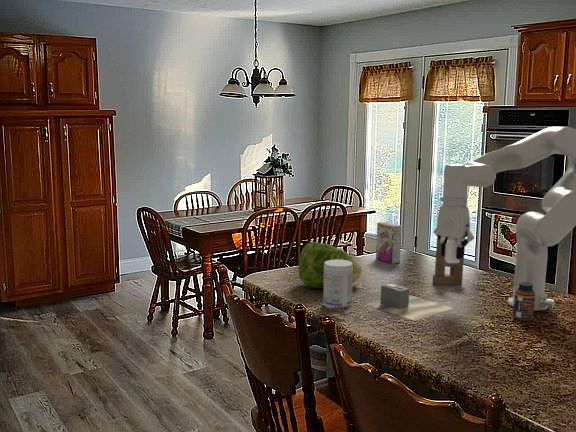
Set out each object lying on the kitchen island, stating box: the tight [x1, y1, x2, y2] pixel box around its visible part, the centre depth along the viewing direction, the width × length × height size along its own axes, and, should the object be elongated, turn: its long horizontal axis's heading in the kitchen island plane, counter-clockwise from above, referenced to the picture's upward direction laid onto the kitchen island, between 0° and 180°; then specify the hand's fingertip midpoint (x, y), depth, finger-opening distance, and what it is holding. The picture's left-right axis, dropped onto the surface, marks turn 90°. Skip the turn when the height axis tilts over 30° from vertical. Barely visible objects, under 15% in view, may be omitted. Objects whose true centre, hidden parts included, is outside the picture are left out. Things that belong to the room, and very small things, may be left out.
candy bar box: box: [375, 221, 403, 265], centre depth 254 cm, size 11×5×16 cm, turn 30°
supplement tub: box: [322, 259, 354, 309], centre depth 191 cm, size 10×10×15 cm
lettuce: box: [298, 241, 363, 289], centre depth 213 cm, size 17×23×16 cm
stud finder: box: [379, 282, 410, 309], centre depth 189 cm, size 8×4×6 cm, turn 39°
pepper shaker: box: [445, 237, 460, 263], centre depth 191 cm, size 4×4×10 cm
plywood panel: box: [365, 294, 455, 322], centre depth 189 cm, size 20×20×1 cm
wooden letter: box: [432, 237, 465, 287], centre depth 218 cm, size 4×11×18 cm, turn 106°
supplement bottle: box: [512, 282, 535, 322], centre depth 181 cm, size 6×6×11 cm
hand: (452, 256), depth 191 cm, fingers closed on pepper shaker, 5 cm apart
